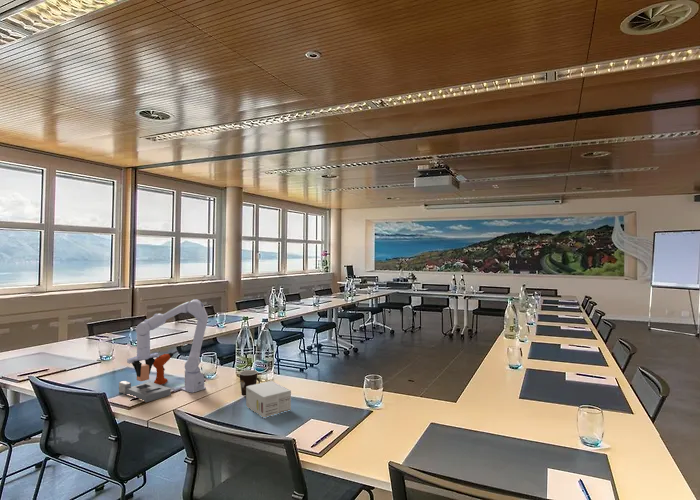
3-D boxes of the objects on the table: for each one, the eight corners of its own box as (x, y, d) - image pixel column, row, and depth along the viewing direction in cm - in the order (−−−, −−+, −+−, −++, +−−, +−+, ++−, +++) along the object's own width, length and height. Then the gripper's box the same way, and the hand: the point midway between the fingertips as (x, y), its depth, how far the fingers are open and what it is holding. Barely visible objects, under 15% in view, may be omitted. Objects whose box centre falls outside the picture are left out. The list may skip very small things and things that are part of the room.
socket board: (170, 394, 196) (170, 388, 196) (146, 402, 186) (146, 395, 186) (150, 387, 206) (150, 381, 206) (125, 394, 196) (125, 388, 196)
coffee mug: (237, 392, 200) (237, 371, 200) (255, 389, 204) (255, 369, 204) (242, 399, 190) (242, 378, 190) (261, 396, 194) (261, 375, 194)
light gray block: (130, 393, 198) (130, 382, 198) (125, 394, 196) (125, 384, 196) (124, 390, 202) (124, 380, 202) (119, 392, 199) (119, 382, 199)
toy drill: (183, 372, 227) (180, 346, 225) (159, 387, 209) (157, 359, 207) (175, 371, 228) (173, 345, 226) (151, 386, 210) (149, 358, 208)
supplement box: (245, 407, 181) (245, 386, 181) (272, 400, 189) (272, 380, 189) (263, 419, 168) (263, 396, 168) (291, 411, 176) (291, 389, 176)
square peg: (149, 379, 199) (149, 364, 199) (141, 381, 196) (141, 366, 196) (144, 378, 202) (144, 363, 202) (136, 380, 198) (136, 365, 198)
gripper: (153, 343, 207) (153, 370, 207) (123, 348, 195) (123, 377, 195) (161, 345, 203) (161, 372, 203) (131, 350, 191) (131, 380, 191)
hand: (143, 375), depth 199 cm, fingers closed on square peg, 4 cm apart
